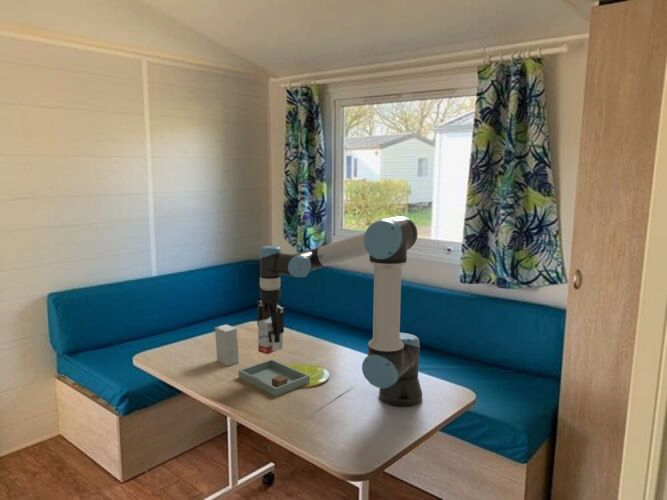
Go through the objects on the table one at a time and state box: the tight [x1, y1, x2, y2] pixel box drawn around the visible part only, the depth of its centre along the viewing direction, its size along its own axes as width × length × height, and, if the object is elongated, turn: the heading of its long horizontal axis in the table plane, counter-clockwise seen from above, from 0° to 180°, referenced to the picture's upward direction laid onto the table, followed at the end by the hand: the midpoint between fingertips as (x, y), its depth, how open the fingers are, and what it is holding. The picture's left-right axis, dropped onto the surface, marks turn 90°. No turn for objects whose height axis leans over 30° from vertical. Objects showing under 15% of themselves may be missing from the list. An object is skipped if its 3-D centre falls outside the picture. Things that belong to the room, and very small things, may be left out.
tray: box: [238, 358, 311, 397], centre depth 187 cm, size 22×16×4 cm
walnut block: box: [272, 375, 288, 387], centre depth 180 cm, size 4×4×4 cm
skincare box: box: [214, 323, 240, 367], centre depth 205 cm, size 8×6×15 cm
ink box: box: [257, 316, 284, 355], centre depth 187 cm, size 9×5×12 cm, turn 143°
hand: (270, 347), depth 188 cm, fingers closed on ink box, 5 cm apart
